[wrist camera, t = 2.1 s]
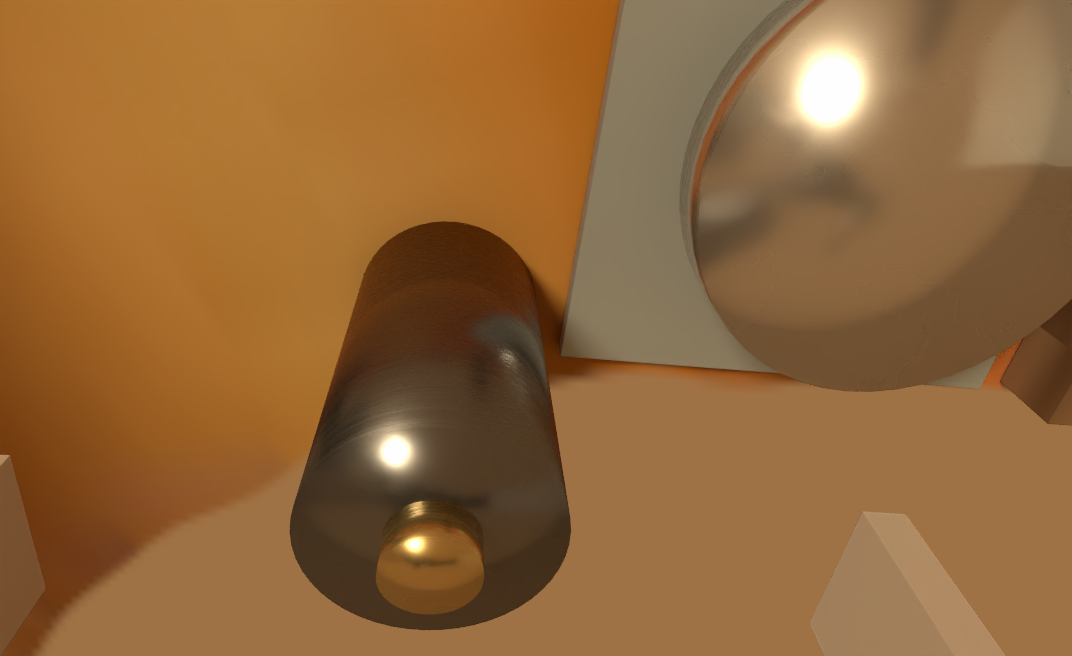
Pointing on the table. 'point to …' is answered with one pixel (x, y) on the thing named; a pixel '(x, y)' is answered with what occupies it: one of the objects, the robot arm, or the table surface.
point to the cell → (436, 441)
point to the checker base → (658, 195)
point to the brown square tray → (1045, 369)
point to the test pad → (886, 186)
